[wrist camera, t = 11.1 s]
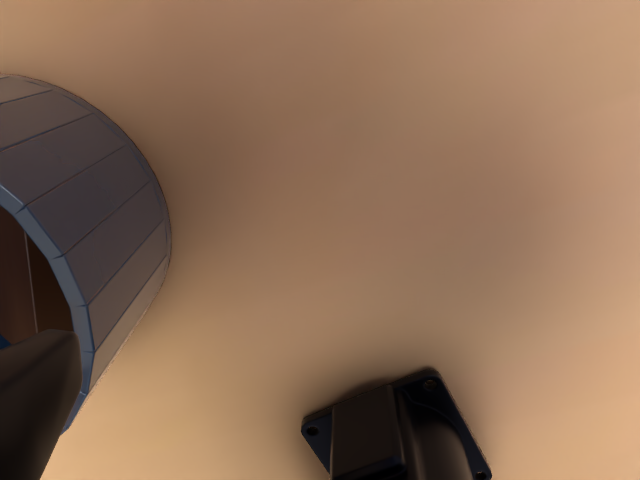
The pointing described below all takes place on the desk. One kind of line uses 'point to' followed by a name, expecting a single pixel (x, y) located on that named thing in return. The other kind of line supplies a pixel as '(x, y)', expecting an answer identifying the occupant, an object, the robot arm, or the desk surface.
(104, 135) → the dark grey round bowl
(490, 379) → the desk surface
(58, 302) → the dark rectangular block
